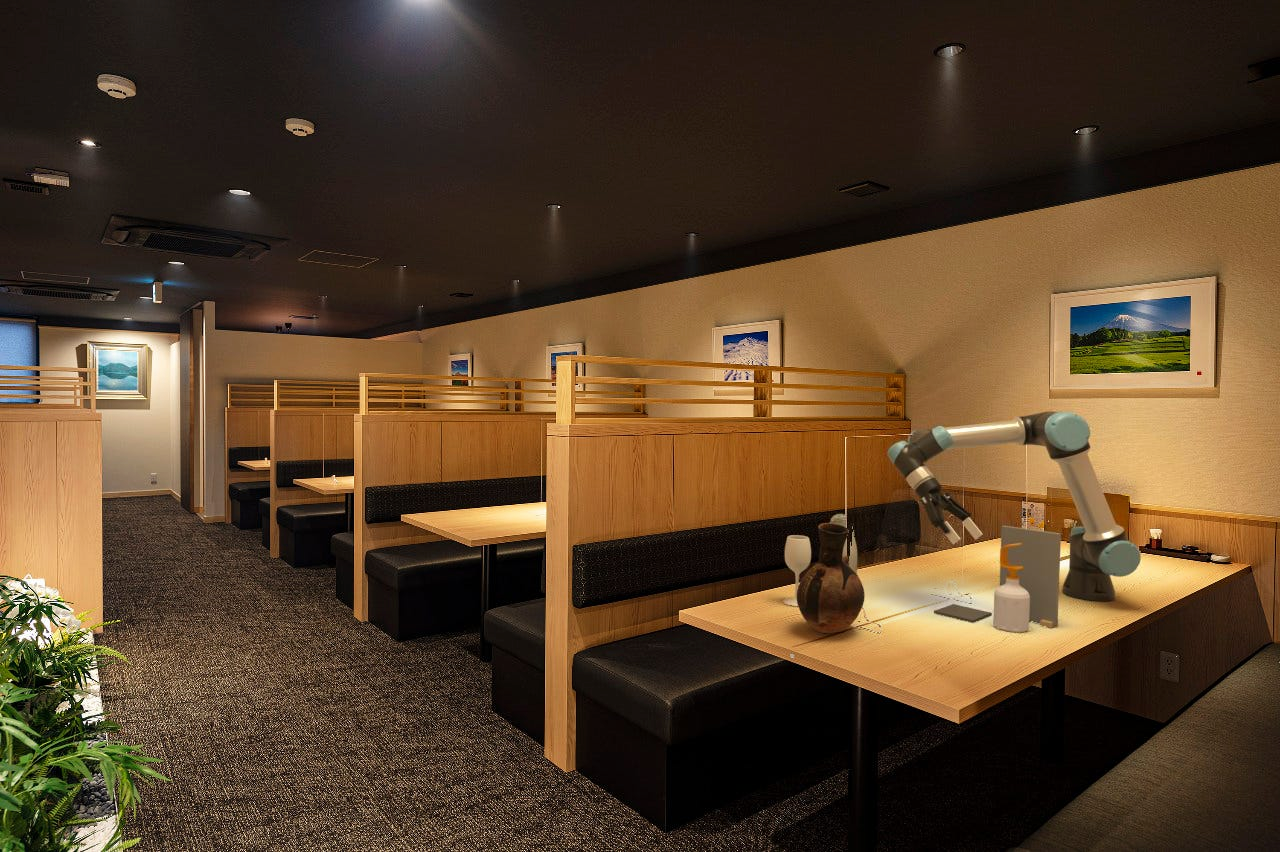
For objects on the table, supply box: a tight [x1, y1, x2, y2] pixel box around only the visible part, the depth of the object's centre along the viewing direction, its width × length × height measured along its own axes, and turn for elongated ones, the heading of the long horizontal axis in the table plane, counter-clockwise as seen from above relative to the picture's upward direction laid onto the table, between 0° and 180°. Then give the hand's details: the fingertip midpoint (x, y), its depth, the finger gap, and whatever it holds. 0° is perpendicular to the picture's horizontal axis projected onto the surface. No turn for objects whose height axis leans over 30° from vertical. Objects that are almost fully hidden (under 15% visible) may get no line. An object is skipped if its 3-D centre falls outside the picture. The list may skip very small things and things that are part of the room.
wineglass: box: [782, 534, 812, 607], centre depth 235 cm, size 9×9×21 cm
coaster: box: [933, 603, 993, 624], centre depth 225 cm, size 12×12×1 cm
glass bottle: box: [829, 513, 858, 575], centre depth 238 cm, size 10×10×28 cm
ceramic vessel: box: [797, 522, 865, 634], centre depth 207 cm, size 21×18×30 cm
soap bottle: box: [992, 543, 1030, 633], centre depth 212 cm, size 9×9×25 cm
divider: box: [999, 525, 1062, 629], centre depth 219 cm, size 5×16×27 cm, turn 40°
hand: (968, 539), depth 224 cm, fingers open, 13 cm apart
